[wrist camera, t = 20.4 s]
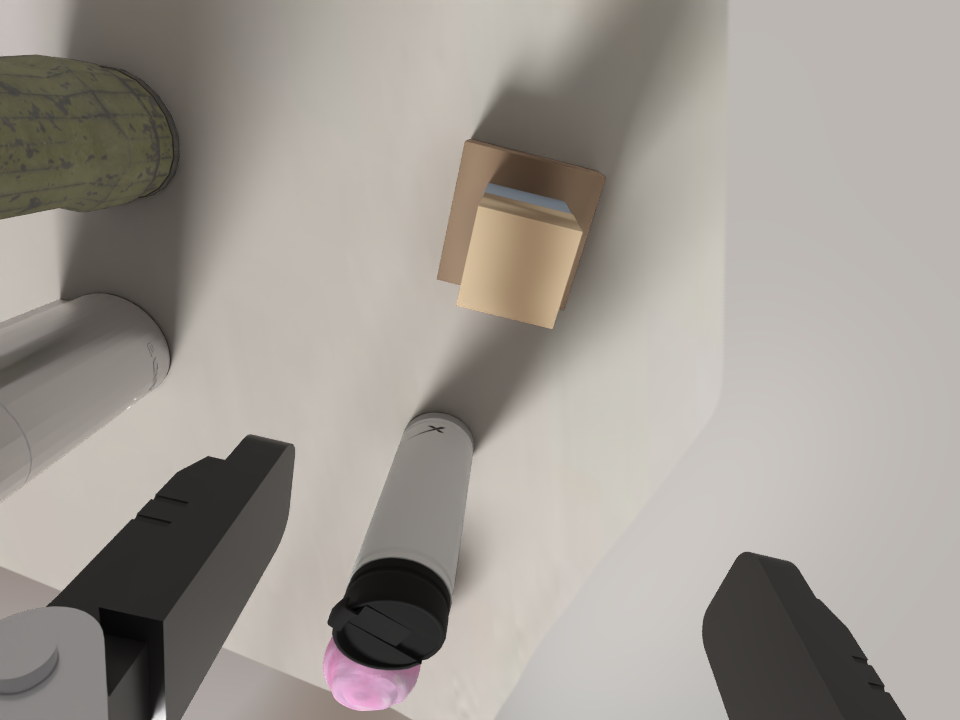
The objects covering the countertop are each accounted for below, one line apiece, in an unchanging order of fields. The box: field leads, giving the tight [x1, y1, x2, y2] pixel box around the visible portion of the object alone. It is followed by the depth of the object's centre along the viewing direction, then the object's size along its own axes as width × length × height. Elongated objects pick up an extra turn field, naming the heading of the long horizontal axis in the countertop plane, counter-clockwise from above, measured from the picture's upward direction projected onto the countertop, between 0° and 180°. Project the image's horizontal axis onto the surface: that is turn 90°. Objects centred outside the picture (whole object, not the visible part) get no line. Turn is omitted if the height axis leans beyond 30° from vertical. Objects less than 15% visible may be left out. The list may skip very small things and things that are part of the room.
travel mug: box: [328, 412, 474, 670], centre depth 38 cm, size 6×7×20 cm
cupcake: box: [323, 637, 421, 711], centre depth 51 cm, size 9×9×10 cm
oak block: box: [456, 192, 583, 329], centre depth 28 cm, size 5×5×5 cm
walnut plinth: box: [437, 139, 606, 310], centre depth 37 cm, size 9×9×4 cm
